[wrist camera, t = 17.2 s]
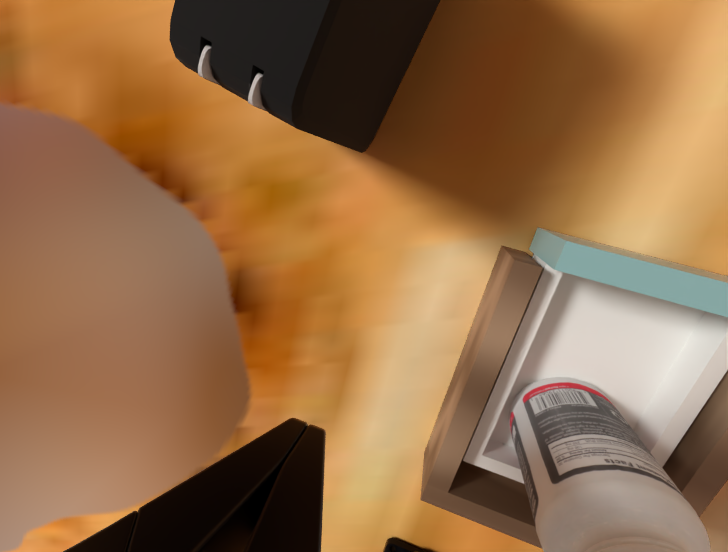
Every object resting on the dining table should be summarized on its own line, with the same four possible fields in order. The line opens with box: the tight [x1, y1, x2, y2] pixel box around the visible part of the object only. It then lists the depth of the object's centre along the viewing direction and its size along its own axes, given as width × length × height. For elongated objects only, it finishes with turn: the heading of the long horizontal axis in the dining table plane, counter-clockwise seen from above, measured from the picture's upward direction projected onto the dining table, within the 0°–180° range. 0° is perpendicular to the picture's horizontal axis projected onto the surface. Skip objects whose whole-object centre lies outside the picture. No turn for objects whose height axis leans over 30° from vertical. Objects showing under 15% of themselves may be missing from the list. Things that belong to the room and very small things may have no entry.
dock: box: [421, 246, 728, 548], centre depth 18 cm, size 14×12×4 cm
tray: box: [463, 227, 728, 484], centre depth 16 cm, size 13×9×4 cm
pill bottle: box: [508, 377, 711, 552], centre depth 14 cm, size 5×5×10 cm
